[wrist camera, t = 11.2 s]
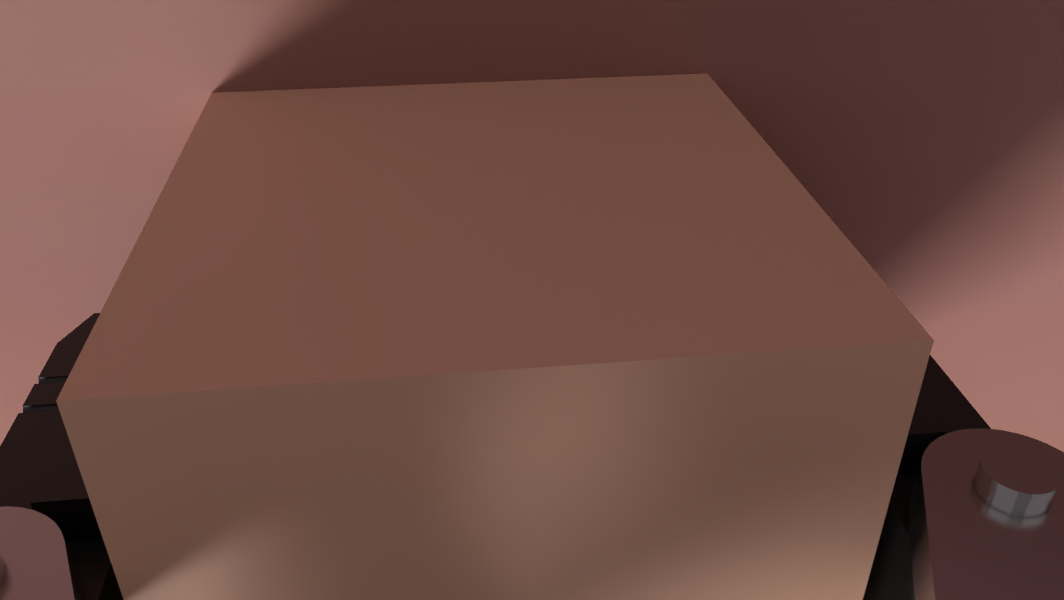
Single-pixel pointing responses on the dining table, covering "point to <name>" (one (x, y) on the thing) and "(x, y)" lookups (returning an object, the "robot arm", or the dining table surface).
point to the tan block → (492, 356)
